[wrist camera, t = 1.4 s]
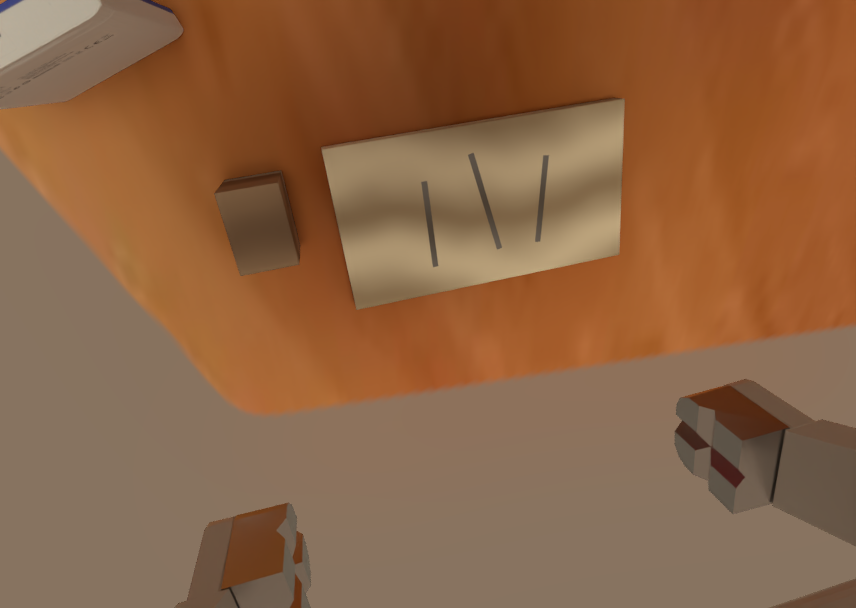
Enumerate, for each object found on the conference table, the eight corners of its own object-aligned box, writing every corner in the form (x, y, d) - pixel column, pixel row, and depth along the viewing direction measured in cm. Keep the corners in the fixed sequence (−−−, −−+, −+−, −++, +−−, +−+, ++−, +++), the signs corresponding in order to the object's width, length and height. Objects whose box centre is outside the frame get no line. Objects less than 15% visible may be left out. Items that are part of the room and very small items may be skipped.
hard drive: (37, 78, 28) (-144, 83, 17) (168, 4, 28) (72, -41, 17) (59, 106, 28) (-101, 128, 17) (187, 33, 28) (107, 10, 17)
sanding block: (224, 179, 32) (214, 193, 28) (281, 170, 32) (278, 182, 29) (247, 254, 34) (240, 276, 30) (300, 244, 34) (299, 264, 31)
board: (321, 146, 32) (321, 149, 31) (614, 97, 35) (624, 98, 34) (355, 302, 37) (356, 309, 36) (610, 249, 39) (619, 254, 38)
